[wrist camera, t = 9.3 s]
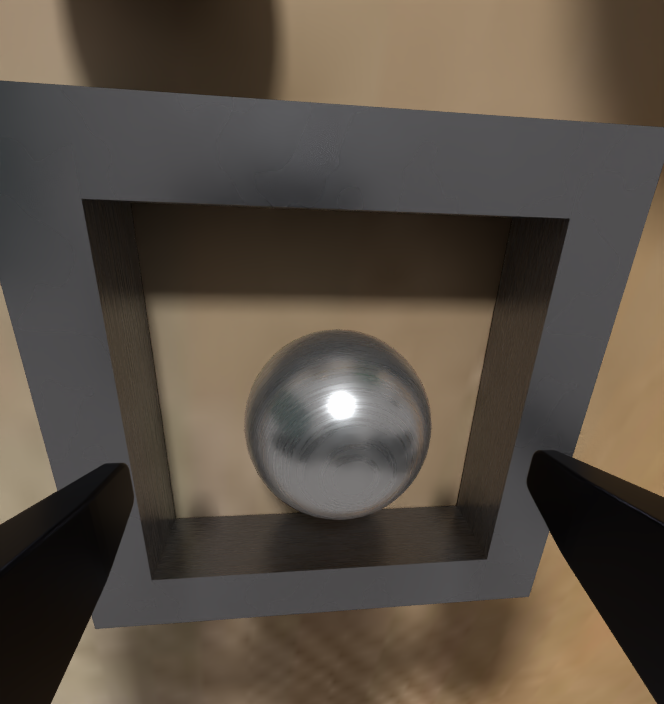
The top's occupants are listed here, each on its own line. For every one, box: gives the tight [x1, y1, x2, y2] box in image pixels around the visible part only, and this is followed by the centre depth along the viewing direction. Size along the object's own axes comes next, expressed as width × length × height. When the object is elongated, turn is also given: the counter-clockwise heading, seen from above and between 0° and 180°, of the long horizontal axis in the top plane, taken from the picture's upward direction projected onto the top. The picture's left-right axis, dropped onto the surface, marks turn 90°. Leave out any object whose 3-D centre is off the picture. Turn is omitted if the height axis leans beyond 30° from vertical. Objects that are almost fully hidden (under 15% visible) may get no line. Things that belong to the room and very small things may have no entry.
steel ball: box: [245, 329, 431, 520], centre depth 10 cm, size 5×5×5 cm
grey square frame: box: [0, 81, 664, 629], centre depth 11 cm, size 15×15×2 cm
